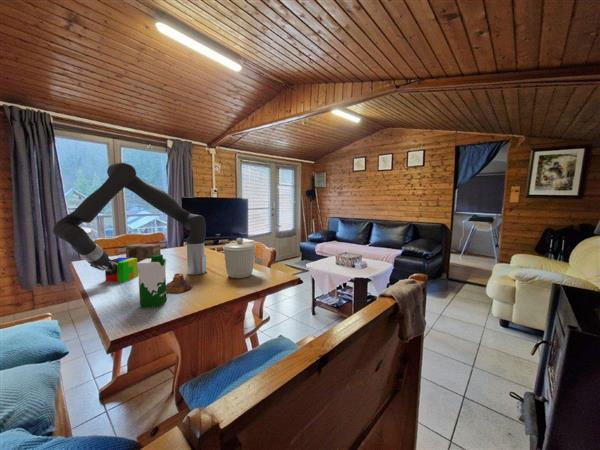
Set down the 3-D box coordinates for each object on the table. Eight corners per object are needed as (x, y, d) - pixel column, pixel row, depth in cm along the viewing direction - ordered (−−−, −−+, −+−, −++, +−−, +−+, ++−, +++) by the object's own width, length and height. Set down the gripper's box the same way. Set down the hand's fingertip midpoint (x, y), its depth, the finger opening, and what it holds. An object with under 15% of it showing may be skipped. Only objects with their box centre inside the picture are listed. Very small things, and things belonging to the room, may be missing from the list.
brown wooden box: (161, 266, 160) (160, 244, 158) (154, 270, 152) (153, 246, 151) (135, 266, 160) (133, 243, 158) (126, 270, 152) (125, 246, 151)
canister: (245, 282, 133) (245, 241, 130) (215, 278, 138) (215, 239, 136) (262, 273, 150) (262, 236, 147) (234, 269, 155) (234, 235, 153)
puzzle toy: (121, 275, 142) (120, 257, 141) (138, 276, 141) (137, 258, 140) (105, 281, 132) (104, 261, 131) (124, 282, 131) (123, 262, 130)
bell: (186, 294, 117) (185, 278, 116) (159, 293, 117) (158, 278, 116) (195, 285, 129) (195, 270, 128) (171, 285, 128) (170, 270, 128)
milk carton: (160, 308, 101) (158, 257, 99) (136, 308, 100) (133, 258, 98) (169, 299, 110) (167, 253, 108) (147, 299, 109) (145, 253, 107)
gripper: (112, 247, 119) (130, 266, 133) (83, 247, 119) (104, 266, 133) (104, 261, 115) (124, 279, 128) (74, 261, 115) (97, 279, 128)
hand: (114, 272), depth 130 cm, fingers closed
